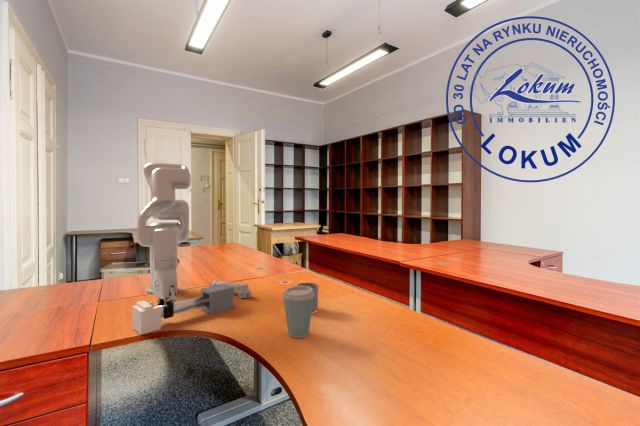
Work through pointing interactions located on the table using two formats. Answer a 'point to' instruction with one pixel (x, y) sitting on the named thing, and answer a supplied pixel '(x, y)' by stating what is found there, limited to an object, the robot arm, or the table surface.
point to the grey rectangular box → (218, 298)
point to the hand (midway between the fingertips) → (165, 315)
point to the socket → (146, 317)
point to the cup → (315, 290)
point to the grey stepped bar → (235, 288)
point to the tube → (188, 304)
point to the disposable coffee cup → (298, 309)
